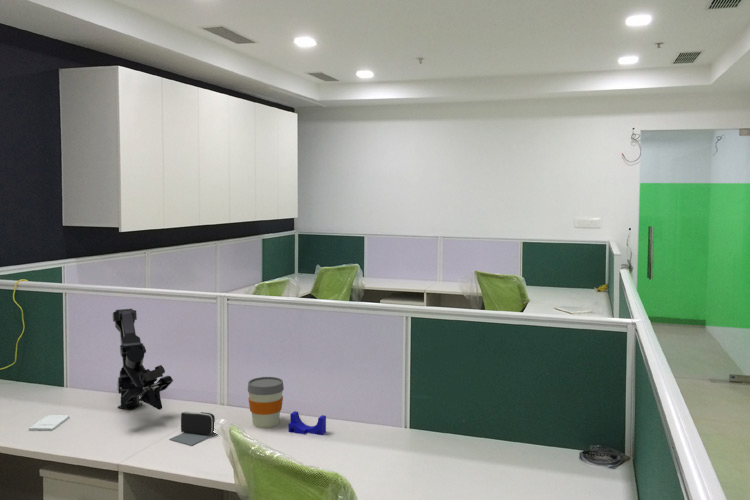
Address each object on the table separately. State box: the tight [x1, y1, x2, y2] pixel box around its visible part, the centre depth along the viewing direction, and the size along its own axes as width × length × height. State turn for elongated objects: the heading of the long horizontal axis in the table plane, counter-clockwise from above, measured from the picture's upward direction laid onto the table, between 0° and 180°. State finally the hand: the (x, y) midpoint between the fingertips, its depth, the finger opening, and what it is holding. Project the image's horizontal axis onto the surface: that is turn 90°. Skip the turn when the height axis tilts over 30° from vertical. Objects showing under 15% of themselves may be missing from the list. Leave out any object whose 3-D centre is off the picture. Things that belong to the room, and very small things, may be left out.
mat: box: [168, 432, 217, 447], centre depth 221 cm, size 10×14×1 cm
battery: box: [180, 411, 216, 435], centre depth 223 cm, size 7×4×11 cm
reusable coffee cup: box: [247, 376, 284, 429], centre depth 233 cm, size 13×13×15 cm
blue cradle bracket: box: [287, 410, 327, 436], centre depth 225 cm, size 12×4×6 cm, turn 70°
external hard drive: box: [28, 414, 71, 432], centre depth 231 cm, size 2×8×12 cm
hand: (160, 408), depth 229 cm, fingers closed
